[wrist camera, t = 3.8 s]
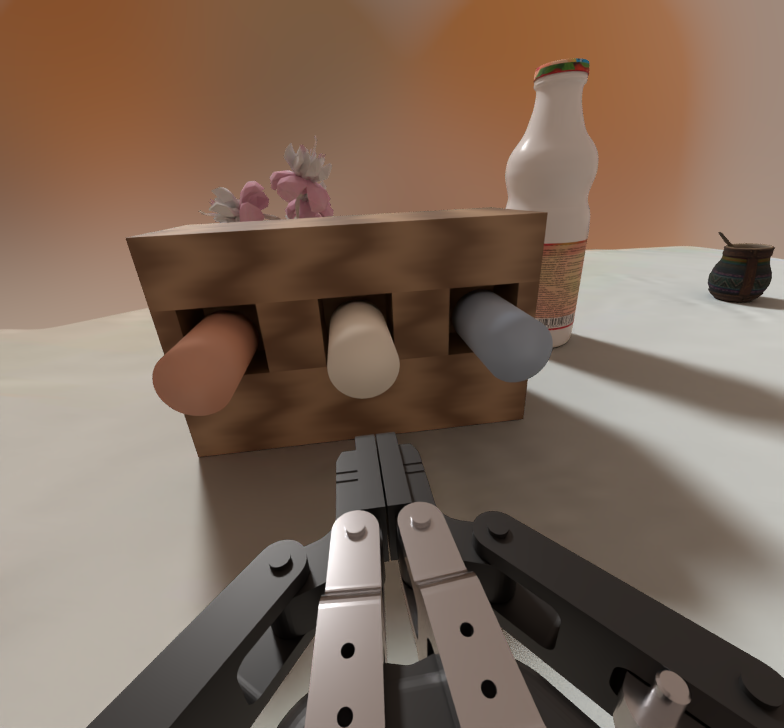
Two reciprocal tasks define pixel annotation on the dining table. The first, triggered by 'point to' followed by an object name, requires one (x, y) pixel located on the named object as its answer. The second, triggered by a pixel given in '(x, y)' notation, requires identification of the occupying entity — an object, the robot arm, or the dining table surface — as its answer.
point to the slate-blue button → (502, 335)
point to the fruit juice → (556, 187)
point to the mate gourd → (741, 272)
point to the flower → (280, 192)
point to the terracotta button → (206, 364)
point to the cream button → (361, 350)
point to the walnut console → (321, 298)
